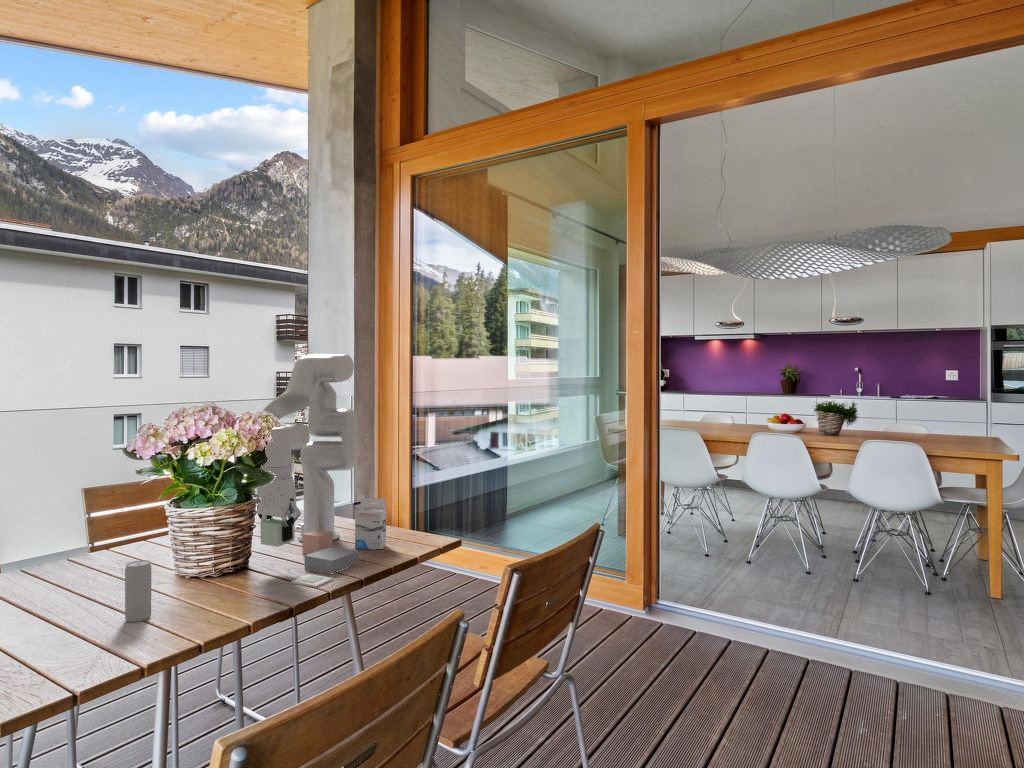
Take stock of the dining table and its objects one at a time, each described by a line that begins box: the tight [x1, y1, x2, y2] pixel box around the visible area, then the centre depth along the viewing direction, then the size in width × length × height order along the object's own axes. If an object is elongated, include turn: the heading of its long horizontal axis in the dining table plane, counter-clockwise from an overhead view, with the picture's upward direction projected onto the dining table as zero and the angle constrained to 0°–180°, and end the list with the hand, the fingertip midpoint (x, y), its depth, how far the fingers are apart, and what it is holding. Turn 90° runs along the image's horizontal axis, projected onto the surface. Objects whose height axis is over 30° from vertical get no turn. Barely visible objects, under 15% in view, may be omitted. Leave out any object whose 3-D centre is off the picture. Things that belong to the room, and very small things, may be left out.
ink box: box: [354, 497, 387, 550], centre depth 185 cm, size 9×5×15 cm, turn 84°
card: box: [291, 573, 333, 588], centre depth 154 cm, size 8×6×1 cm
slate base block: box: [304, 546, 359, 574], centre depth 166 cm, size 10×10×4 cm
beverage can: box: [124, 559, 152, 624], centre depth 129 cm, size 5×5×12 cm
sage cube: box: [259, 516, 296, 547], centre depth 162 cm, size 6×6×6 cm
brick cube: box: [302, 530, 333, 555], centre depth 180 cm, size 6×6×6 cm
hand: (277, 538), depth 162 cm, fingers closed on sage cube, 6 cm apart
